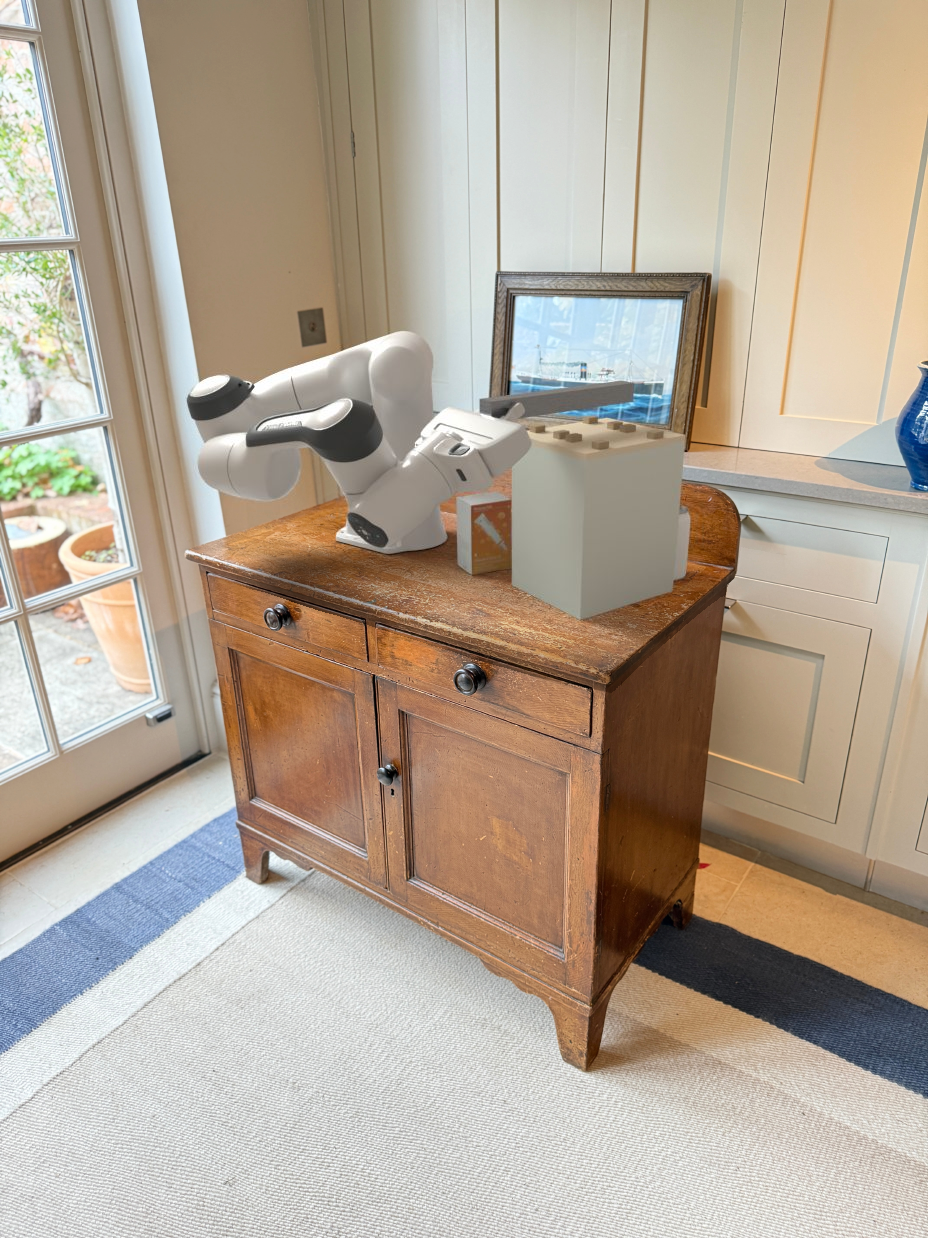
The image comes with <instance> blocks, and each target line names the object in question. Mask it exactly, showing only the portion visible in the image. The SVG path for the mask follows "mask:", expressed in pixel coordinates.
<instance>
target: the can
mask: <svg viewBox="0 0 928 1238" xmlns="http://www.w3.org/2000/svg"><path fill="white" fill-rule="evenodd" d="M689 511H690V509H689V507H687V506H685V505H683V504H682V505H681V504H680V508H679V520H678V532H677V544H676V556H675V568H674V580H673V582H676V581H680V580H682V579H683V578H684V577H685V576H686V574H687V565H688V556H689V555H688V553H689V542H690V531H691V515H690V513H689Z"/></svg>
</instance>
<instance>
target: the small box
mask: <svg viewBox="0 0 928 1238" xmlns="http://www.w3.org/2000/svg"><path fill="white" fill-rule="evenodd" d="M455 498H456V499H455V500H456V501H455V503H456V505H455V506H456V544H457V545H456V546H457V547H456V549H457V552H456V553H457V565H458V566H459V567H460V568H461V569H463V570H464V571H465V572H467V573H468V574H470V576H475V575H479V574H486V573H490V572H491V573H492V572H496V571H502V570H510V569H512V550H511V512H512V498H509V497H508V496H506V495H505V494H502V493H501V492H498V491H497V490H494V491H489V492H488V491H487V492H481V493H479V492H478V493H473V494H469V495H463V496H462V495H461V496H456V497H455Z"/></svg>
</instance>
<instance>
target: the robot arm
mask: <svg viewBox="0 0 928 1238" xmlns="http://www.w3.org/2000/svg"><path fill="white" fill-rule="evenodd" d="M433 369H434V355H433V351H432V348H431V347H430V345H429V343H428V341H426V340H425V338H423V337H422V336H420V335H419V334H417V333H415V332H412V331H408V330H407V331H406V330H400V331H396V332H392V333H390V334H387V335H384V336H380V337H378V338H375V339H372V340H369V341H366V342H363V343H360V344H358V345H355V346H353V347H349V348H346V349H344V350H342V351H341V350H340V351H338V352H336V353H333V354H330V355H327V356H323V357H320V358H318V359H314V360H311V361H307V362H305V363H301V364H299V365H295V366H292V367H288V368H285V369H283V370H280V371H278V372H276V373H274V374H271V375H268V376H267V377H264V378H263V379H261V380H259V381H257V382H255V383H254V384H253V383H252V381H248V380H242V379H241V378H239V377H237V376H233V375H230V374H217V375H214V376H209V377H207V378H205V379H202V380H201V381H199V382H198V383H196V384H195V385H194V386H193V387H192V388H191V389H190V391H189V393H188V394H187V397H186V403H187V408H188V412H189V415H190V417H191V419H192V420H194V422H195V425H196V428H197V430H198V433H199V435H200V438H201V439H202V441H203V443H204V444H202V446H201V448H200V450H199V452H198V454H197V461H196V462H197V463H196V464H197V469H198V472H199V475H200V477H201V479H202V480H203V481H204V483H206V485H207V486H209V487H211V489H214V490H216V491H218V492H221V493H224V494H226V495H228V496H233V497H235V498H240V499H245V500H250V501H251V500H252V501H257V502H258V501H259V502H272V501H273V502H274V501H278V500H280V499H282V498H284V497H285V496H287V495H288V494H290V492H292V490H294V488H295V486H297V483H298V481H299V478H300V475H301V471H302V456H301V451H300V449H303V448H304V449H305V448H309V449H311V451H313V452H315V454H317V456H318V457H319V458H320V460H322V462H323V463H324V465H325V466H326V468H327V470H328V471H329V472H330V474H331V476H332V477H333V479H334V480H335V482H336V483H337V485H338V487H339V489H340V490H341V492H342V494H343V495H344V498H345V500H346V503H347V506H348V511H347V514H346V522H345V523H346V524H345V526H343V527H342V528H340V529H339V530H338V531H337V532H336V535H335V541H336V542H340V543H345V544H347V545H352V546H356V547H359V548H363V549H367V550H372V551H374V552H379V553H382V554H385V555H386V554H388V555H390V554H397V553H403V552H409V551H418V550H419V551H420V550H426V549H431V548H434V547H437V546H439V545H442V544H444V543H445V542H446V541H447V540H448V534H447V532H446V529H445V526H444V522H443V516H442V511H441V507H440V505H441V504H443V503H445V502H447V501H449V500H450V499H451V498H452V497H454V495H456V494H465V493H468V492H470V493H472V492H478V493H479V492H481V493H484V492H488V491H489V489H491V488H492V487H493V486H494V484H495V481H494V478H498V477H500V476H502V475H504V474H505V473H507V472H508V471H509V470H510V469H512V467H513V466H514V465H515V464H516V463H517V462H518V461H519V460H520V459H521V458H522V457H523V456H524V455H525V454H526V453H527V452H528V451H529V450H530V447H531V443H532V441H531V439H530V437H529V434H528V432H527V431H528V430H527V428H526V427H525V425H524V424H522V423H518V420H519V419H518V418H520V417H521V416H522V415H523V414H524V413H525V409H524V407H523V405H522V403H518V402H513V403H512V405H510V406H509V407H508V408H507V409H508V413H507V414H506V416H502V417H500V418H495V417H491V416H487V415H483V414H480V407H478V408H475V410H474V411H471V410H466V409H464V408H459V407H456V406H452V405H451V406H450V405H449V406H448V407H446V408H443V409H442V410H441V411H440V412H438V413H437V414H436V416H435V415H434V401H433V383H432V374H433ZM520 419H521V418H520Z"/></svg>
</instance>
